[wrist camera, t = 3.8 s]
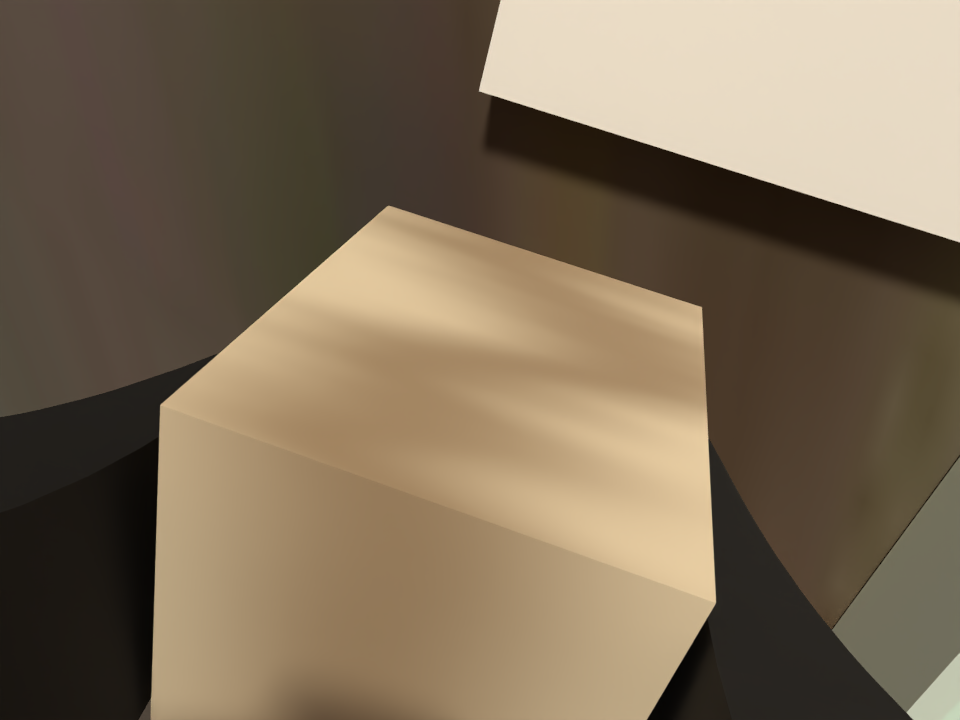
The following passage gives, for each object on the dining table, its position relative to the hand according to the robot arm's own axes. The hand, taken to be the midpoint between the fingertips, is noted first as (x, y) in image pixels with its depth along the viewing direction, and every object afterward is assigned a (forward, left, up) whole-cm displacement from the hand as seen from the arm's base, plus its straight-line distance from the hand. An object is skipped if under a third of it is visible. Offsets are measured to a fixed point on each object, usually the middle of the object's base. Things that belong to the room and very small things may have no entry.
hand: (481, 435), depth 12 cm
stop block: (0, 0, -2) cm, 2 cm away
